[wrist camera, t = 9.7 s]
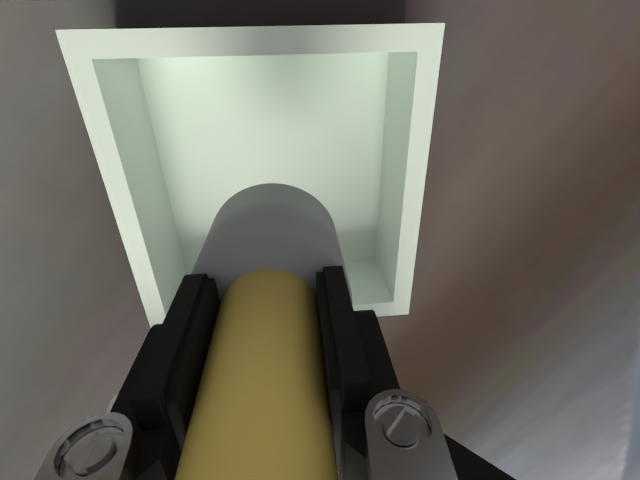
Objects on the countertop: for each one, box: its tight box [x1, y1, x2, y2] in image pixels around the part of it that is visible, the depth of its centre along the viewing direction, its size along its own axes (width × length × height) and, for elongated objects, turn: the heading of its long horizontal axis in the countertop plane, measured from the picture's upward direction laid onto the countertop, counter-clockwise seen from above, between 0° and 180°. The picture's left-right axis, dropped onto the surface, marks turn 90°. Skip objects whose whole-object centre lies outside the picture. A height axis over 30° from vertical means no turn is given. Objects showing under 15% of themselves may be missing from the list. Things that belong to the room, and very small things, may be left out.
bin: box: [55, 23, 445, 328], centre depth 20 cm, size 15×15×6 cm
